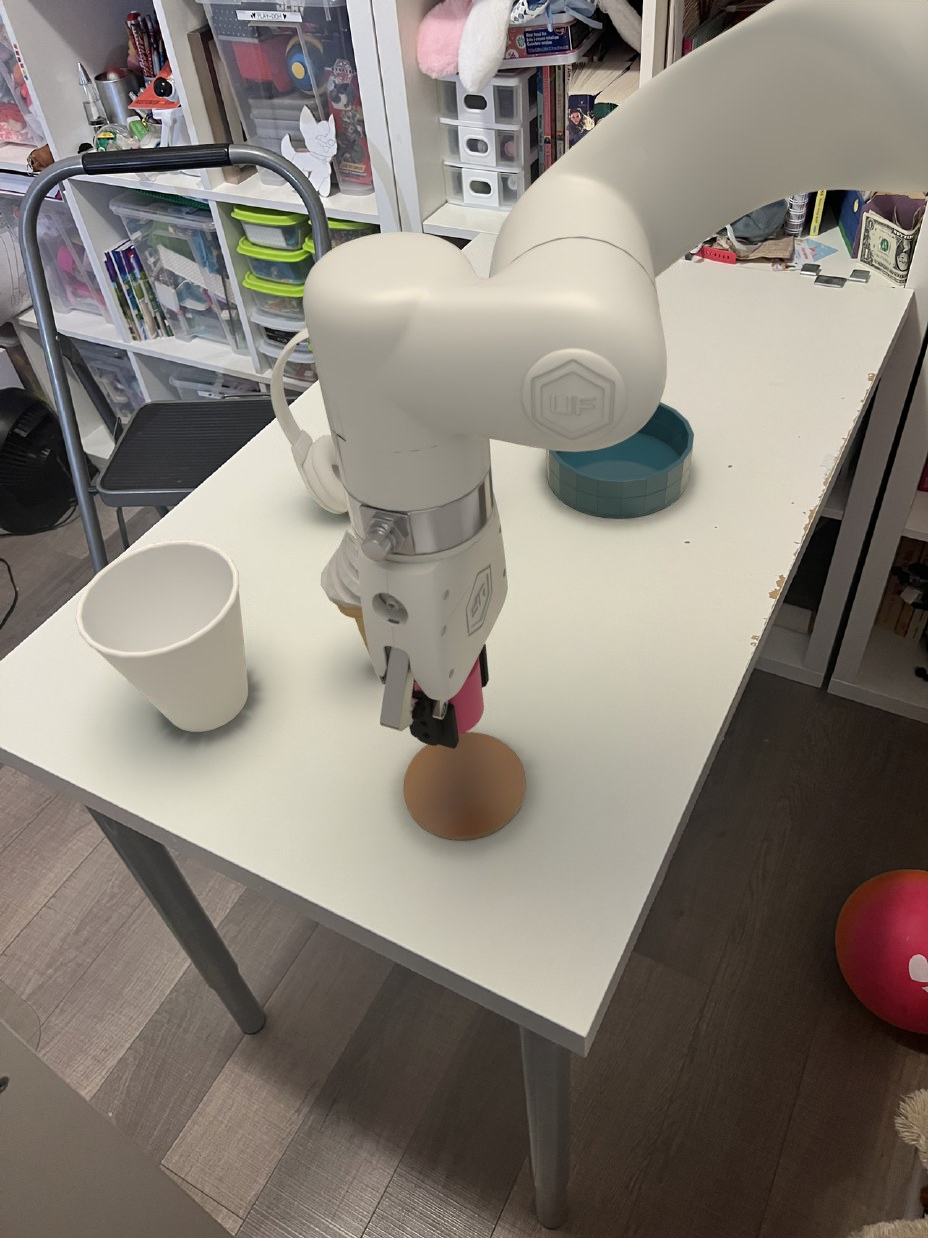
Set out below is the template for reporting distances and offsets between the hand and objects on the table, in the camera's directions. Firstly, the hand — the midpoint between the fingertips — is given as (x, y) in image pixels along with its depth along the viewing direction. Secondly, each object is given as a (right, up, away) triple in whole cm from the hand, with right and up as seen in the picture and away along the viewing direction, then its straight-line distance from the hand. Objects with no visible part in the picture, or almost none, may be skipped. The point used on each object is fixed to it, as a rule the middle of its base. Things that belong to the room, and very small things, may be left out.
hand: (450, 707), depth 58 cm
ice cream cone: (-6, +2, +16) cm, 17 cm away
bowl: (+16, +21, +30) cm, 40 cm away
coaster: (+1, -6, +7) cm, 10 cm away
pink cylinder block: (0, 0, 0) cm, 0 cm away
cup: (-20, -1, +15) cm, 25 cm away
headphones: (-6, +17, +30) cm, 35 cm away
